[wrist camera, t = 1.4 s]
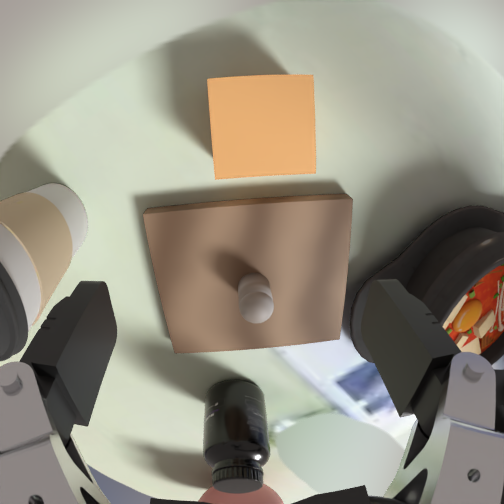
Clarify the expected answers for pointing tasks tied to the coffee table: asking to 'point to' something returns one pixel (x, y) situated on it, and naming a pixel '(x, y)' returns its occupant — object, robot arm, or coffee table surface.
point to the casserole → (452, 280)
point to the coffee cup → (35, 256)
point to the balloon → (242, 497)
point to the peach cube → (262, 125)
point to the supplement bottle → (236, 436)
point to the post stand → (251, 270)
